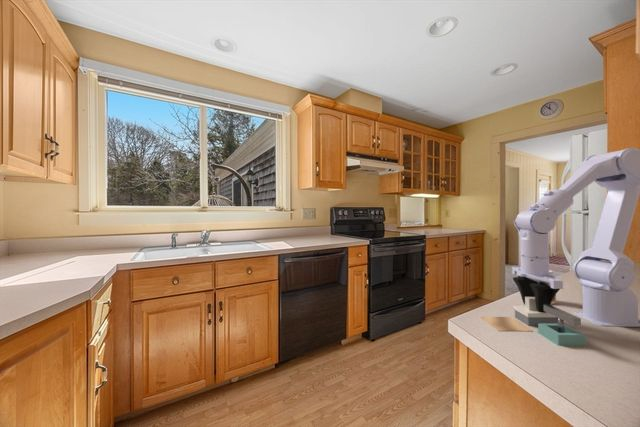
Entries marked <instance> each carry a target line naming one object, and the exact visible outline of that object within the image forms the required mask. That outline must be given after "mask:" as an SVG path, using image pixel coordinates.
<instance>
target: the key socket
mask: <svg viewBox="0 0 640 427" xmlns="http://www.w3.org/2000/svg"><path fill="white" fill-rule="evenodd" d="M537 327H538V329H537V330H538V331H536V333H537V334H539V335H541V337H544V338H546V339H547V340H548V341H550V342H551V343H553V344H554V345H557V346H558V347H589V346H588V345H587V334H584V333H583V332H581V331H579V330H576V328H575V329H574V328H573V327H571V326H570V325H567V324H565V323H564V333H559V332H558V324H544V323H538V326H537Z"/></svg>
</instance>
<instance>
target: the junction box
mask: <svg viewBox="0 0 640 427" xmlns="http://www.w3.org/2000/svg"><path fill="white" fill-rule="evenodd" d="M514 319H516V320H517V321H519V322H520V323H521V322H522V324H523V323H524V324H525V326H526V325H527V327H538V323H544V324H558V317H527V316H525V315H523V314H521V313H520V312H518V311H516V310H514Z"/></svg>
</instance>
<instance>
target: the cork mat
mask: <svg viewBox="0 0 640 427" xmlns="http://www.w3.org/2000/svg"><path fill="white" fill-rule="evenodd" d="M480 319H482V321H485V322H486V323H487V324H488V325H489V326H491V327H492V328H493V329H495V330H496V331H497V332H534V330H532V329H531V328H529V326H526V324H525V325H524V324H523V322H522V323H521V321H519V320H518V319H516V318H515V317H512V316H480Z"/></svg>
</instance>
